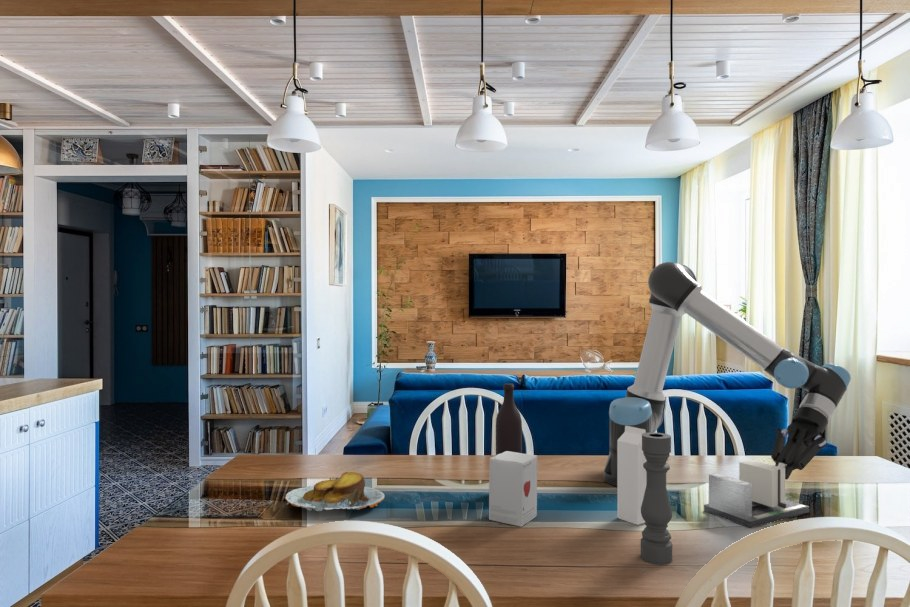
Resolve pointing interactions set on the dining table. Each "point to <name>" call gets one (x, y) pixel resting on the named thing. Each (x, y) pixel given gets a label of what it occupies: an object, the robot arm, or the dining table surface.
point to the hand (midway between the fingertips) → (773, 486)
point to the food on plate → (336, 494)
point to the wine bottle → (508, 424)
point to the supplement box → (513, 488)
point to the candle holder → (656, 500)
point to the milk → (630, 475)
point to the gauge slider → (764, 482)
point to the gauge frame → (744, 503)
